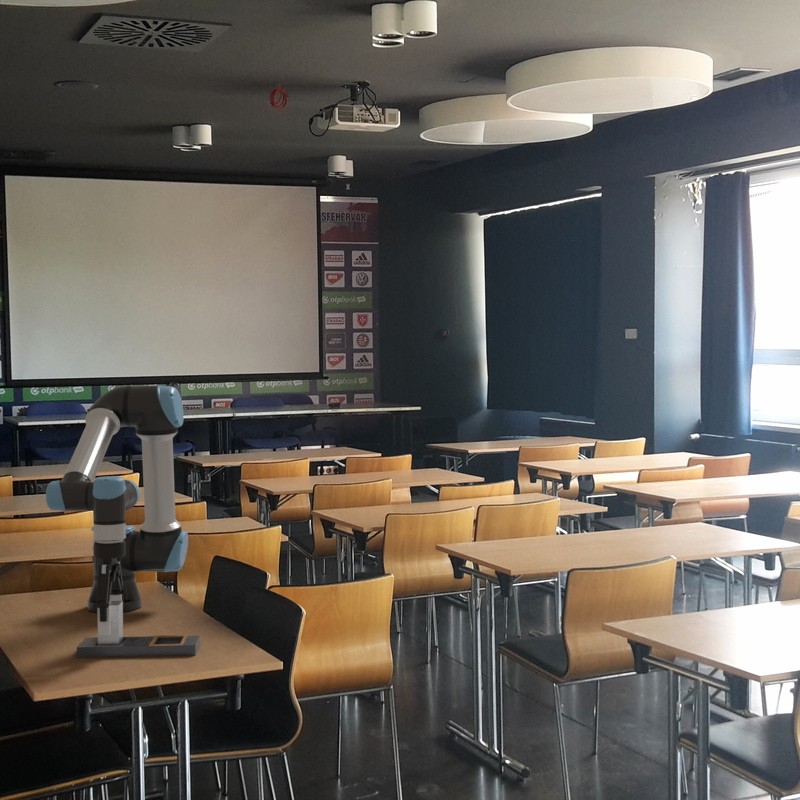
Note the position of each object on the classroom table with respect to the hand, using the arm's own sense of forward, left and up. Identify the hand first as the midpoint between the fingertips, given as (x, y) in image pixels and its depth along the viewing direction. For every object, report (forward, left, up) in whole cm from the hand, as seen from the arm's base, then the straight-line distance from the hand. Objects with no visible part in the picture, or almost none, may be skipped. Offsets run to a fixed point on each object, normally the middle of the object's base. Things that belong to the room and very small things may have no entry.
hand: (110, 627), depth 251 cm
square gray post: (0, 0, -6) cm, 6 cm away
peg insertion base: (0, +7, -6) cm, 9 cm away
